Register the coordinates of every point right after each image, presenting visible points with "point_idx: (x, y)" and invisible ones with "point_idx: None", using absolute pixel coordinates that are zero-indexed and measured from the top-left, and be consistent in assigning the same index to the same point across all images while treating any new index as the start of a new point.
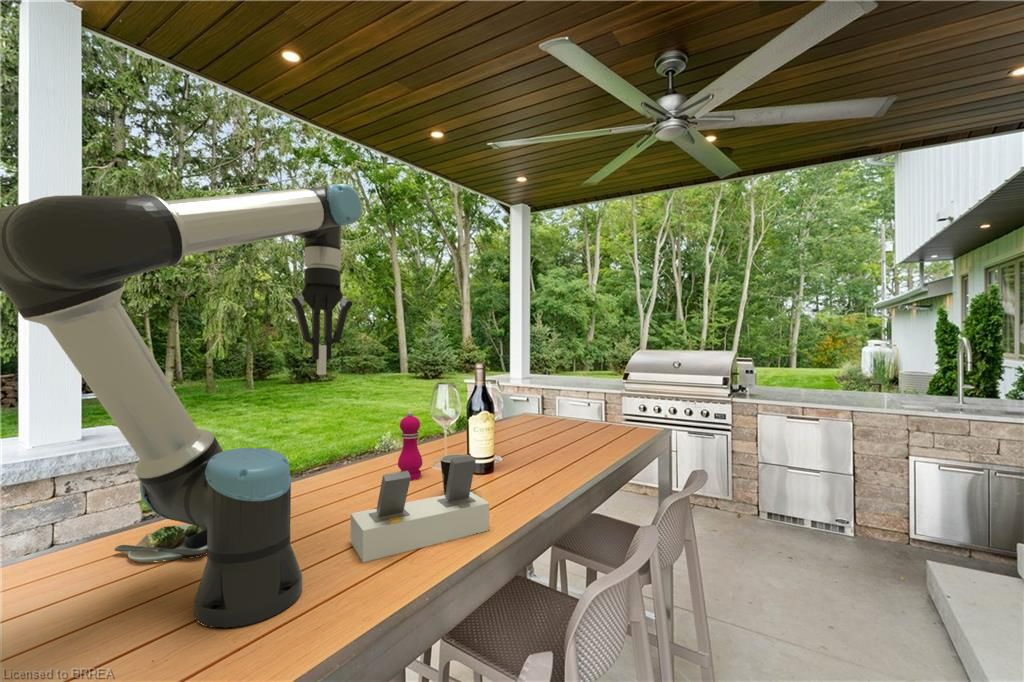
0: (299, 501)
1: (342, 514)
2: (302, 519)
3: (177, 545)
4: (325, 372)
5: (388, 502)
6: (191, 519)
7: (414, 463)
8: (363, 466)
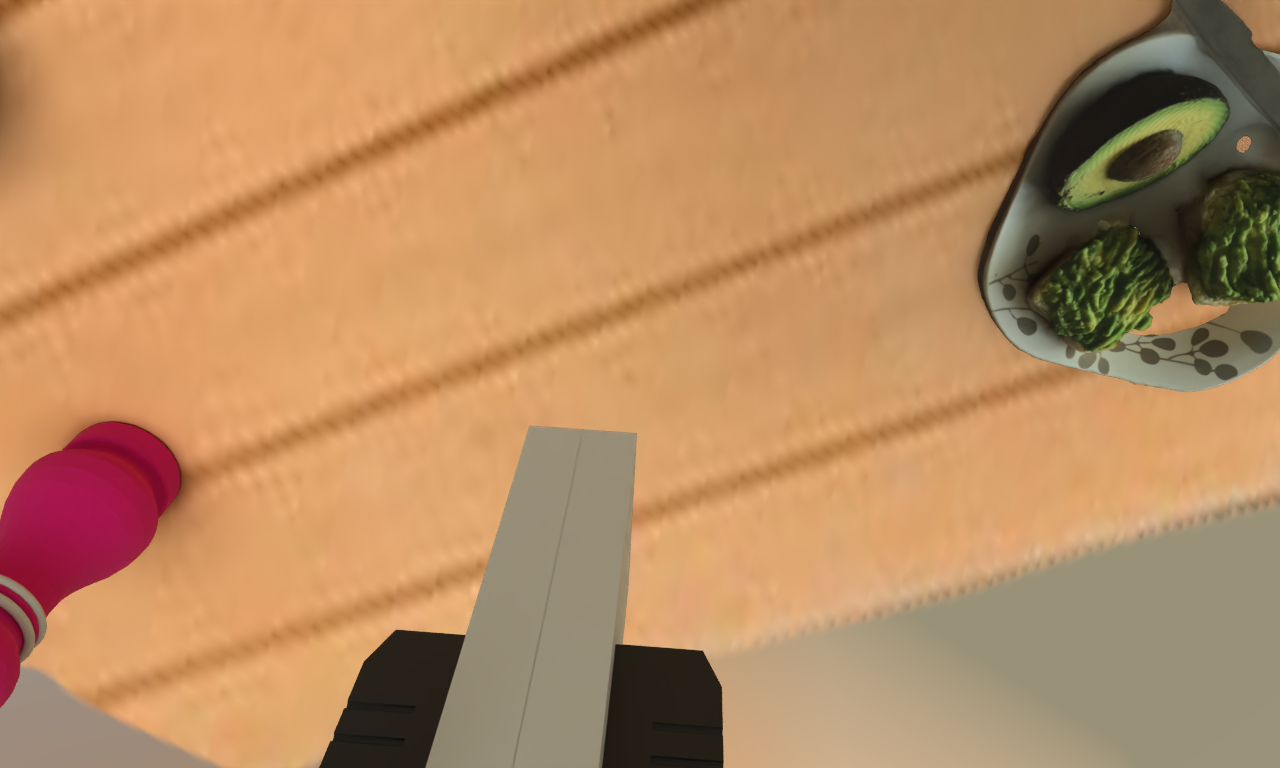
0: (667, 440)
1: (534, 164)
2: (707, 211)
3: (1217, 177)
4: (534, 441)
5: None
6: None
7: (62, 462)
8: (315, 721)
